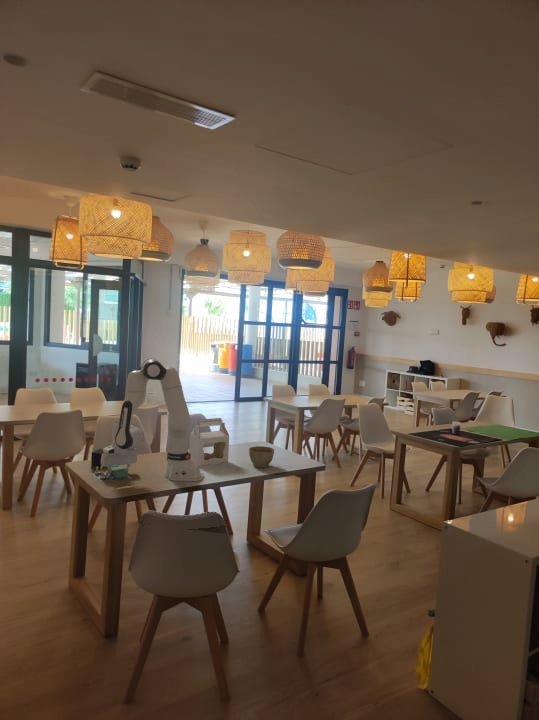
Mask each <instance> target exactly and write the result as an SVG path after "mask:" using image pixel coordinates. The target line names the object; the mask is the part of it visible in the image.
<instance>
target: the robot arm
mask: <svg viewBox="0 0 539 720" xmlns="http://www.w3.org/2000/svg"><path fill="white" fill-rule="evenodd" d="M149 380H153V381H159V382H160V386H161V389H162V394H163V398H164V403H165V405H166V410H167V412H168V415H167V429H168V430H167V431H168V432H167V433H168V445H167V446H168V448H167V449H168V450H167V454H166V461H167V464H166V469H165V473H164V477H165V478H167V479H168V480H169V481H178V482H199V481H200V480H202V479H204V477H205V475H204V473H202V472H201V466H199V465H198V464H196V463H195V462H194V461H193V460H192V459H191V453H189V451H188V449H189V447H188V446H189V436H188V429H189V427H190V426H191V422H192V419H191V415H190V411H189V408H188V405H187V402H186V399H185V395H184V390H183V385H182V382H181V379H180V375H179V373H178V371H177V369H176V368H175V367H171V366H168V367H164V366H163V365H162V363H161V362H160V361H159V360H158V359H156V358H147V359H146V360H145V361H144V362H143V363H142V364H141V366H140V367H139V369H138V370H132V371H131V372H129V374H128V375H127V379H126V386H125V393H124V400H123V404H122V405H121V410H120V414H119V415H120V416H119V420H117V421H114V422H113V424H112V429H111V431H112V432H111V438H112V441H111V444H110V445H108V446H106V447H103V448H102V449H103V452H104V453H103V454H102V456H101V465H102V466H103V467H104V468H107V470H108V469H109V473H110V474H112V473H113V470H111V469H110V468H111V466H116V465H120V466H122V465H126V467H125V468H124V469H126V470H127V471H128V472H129V469H130V467H131V466H132V465H131V464H136V463H137V462H138V456H137V455H138V453H137V452H138V449H137V448H136V447H135V446H136V445H138V444H140V443H142V442H143V440H144V437H145V435H144V431H143V430H142V429H141V428H140V427H137V426H135V425H133V424H132V419H133V415H134V413H135V412H136V410H138V409H139V408H140V407H141V406H142V405H144V403H145V401H146V397H147V384H148V381H149Z"/></svg>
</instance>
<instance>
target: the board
mask: <svg viewBox="0 0 539 720" xmlns="http://www.w3.org/2000/svg"><path fill="white" fill-rule="evenodd" d="M110 469H111V470H113V473H112V475H113V476H115V477H116V478H119V477H126V476H128V475H129V470H128V471H127V470H126V469H125V468H124V467H123V466H122V465H116V466H111V468H110ZM107 470H108V472H109V469H108V468H107Z"/></svg>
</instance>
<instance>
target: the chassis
mask: <svg viewBox="0 0 539 720" xmlns="http://www.w3.org/2000/svg"><path fill="white" fill-rule="evenodd" d="M90 474H91V475H93V477H95V479H98V481H100V482H101V483H103V484H105V483H112V482H118V481H125V480H132V479H133V477H132V476H130V475H129V474H128V476H126V477H119V478H116V477H115V476H113V475H112V474H110V473H109V472H108V469H107V470H103V468H102V466H101V469H98V466H97V467H96V469H95V471H94V472H91V473H90Z"/></svg>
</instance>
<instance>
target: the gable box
mask: <svg viewBox="0 0 539 720" xmlns="http://www.w3.org/2000/svg"><path fill="white" fill-rule="evenodd" d="M223 421H224V420H222V418H221V417H218V418H217V417H216V418H204V419H203V418H201V419H198V423H196V424H195V425H194V427H193V429H192V431H191V432H190V433H189V443H188V446H189V447H188V449H189V451H188V452H189V453H191V459H192V460H193V461H194V462H195V463H196V464H198V465H199V467H202V466H208V465H209V466H211V465H218V464H224V463H225V464H226V463H229V453H230V452H229V451H230V447H229V446H230V434H229V432H228V430H227V428H226V425H225V424H226V422H223ZM212 426H213V427H214V426H219V429H218V430H216V431H215V430H213V431H205V432H204V431H203V432H200V428H202V427H212ZM208 443H210V444H211V443H214V444H213V452H212V453H208V452H205V451H204V445H205V444H208Z"/></svg>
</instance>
